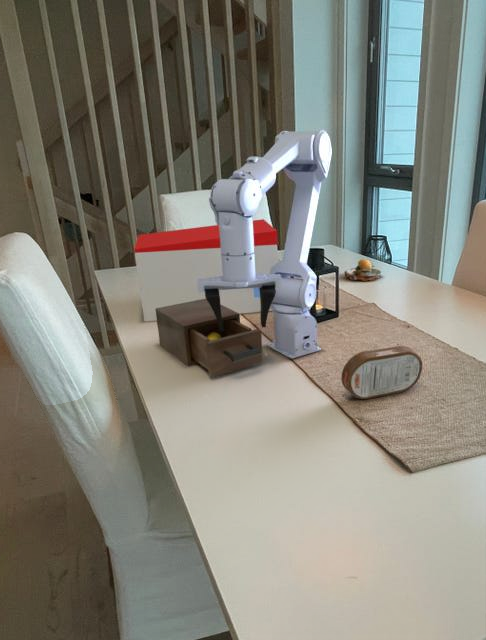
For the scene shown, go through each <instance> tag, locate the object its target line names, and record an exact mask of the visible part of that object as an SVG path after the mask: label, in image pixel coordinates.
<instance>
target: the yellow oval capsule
mask: <svg viewBox="0 0 486 640" xmlns="http://www.w3.org/2000/svg"><path fill="white" fill-rule="evenodd" d="M206 337H207V338H209V339H210V341H211V340H215V339H219V338H221V336H220V335H219V334H218V333H214V332H213V333H210V334H208V335H207V336H206Z"/></svg>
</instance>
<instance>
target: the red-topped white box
mask: <svg viewBox="0 0 486 640" xmlns="http://www.w3.org/2000/svg"><path fill="white" fill-rule="evenodd" d="M253 235H254V255H255V274H270V270H271V268H272V267H273V266H275V265H276V264H278V263H279V262H278V230H277V229H276V228H274V227H273V226H272V225H271V224H270V223H268V222H267V220H265V219H264V218H262V219H255V220H254V219H253ZM136 239H137V240H136V242H135V246H134V249H133V251H134V259H135V264H136V265H135V267H136V272H137V273H136V274H137V280H138V287H139V293H140V301H141V307H142V314H143V321H144V322H145V323H146V322H157V318H156V310H155V309H156V308H160V307H165V306H171V305H176V304H181V303H186V302H191V301H196V300H201V299H206V297H205V292H198V282H197V279H204V278H212V277H218V276H223V272H222V258H221V246H220V233H219V225H217V224H214V225H207V226H198V227H190V228H182V229H175V230H165V231H158V232H151V233H142V234H138V236H137V238H136ZM219 295H220V304H221V305H223V306H225V307H227V308H229V309H231V310H233V311H235V312H237V313H239V314H240V315H242V314H250V313H261V302H260V290H259V288H244V289H229V290H219ZM269 312H274V309H271V307H270V309H269Z"/></svg>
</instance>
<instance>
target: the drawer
mask: <svg viewBox="0 0 486 640" xmlns="http://www.w3.org/2000/svg"><path fill="white" fill-rule="evenodd" d="M222 322H223V331H220V330H219V325H218V322H216V323H212V324H207V325H203V326H199V327H194V328H190V329H188V338H189V347H190V356H191V358H192V359H194V360H195V361H197V362H198V364H200V366H202V367H204V368H205V369H206V370H208V376H209V377H211V378H213V377H217V376H220V375H225V374H227V373H231V372H234V371H237V370H240V369H244V368H247V367H251V366H254V365H258V364H261V363H263V362H264V358H263V356H264V355H263V339H262V338H263V337H262V335H263V334H262V330H261V329H259V328H255V329H252V328H251V327H250V326H247V325H245V324H243V323H242V322H240V323H239V322H238V321H236V320H234V319H229V320H225V321H222ZM213 332H214V333H218V334H219V335H220V336H221V338H219V339H215V340H211V341H210V339H209V338H207V337H206V336H207V335H208V334H210V333H213Z"/></svg>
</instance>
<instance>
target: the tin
mask: <svg viewBox="0 0 486 640" xmlns="http://www.w3.org/2000/svg"><path fill="white" fill-rule="evenodd" d="M422 371H423V360H422V358H421V357H420V355H419V354H418V353H416V351H414V350H413V348H411V347H409V346H407V345H397V346H389V347H383V348H378V349H369V350H365V351H360V352H358V353H356V354H354V355H353V356H352V357H350V358H349V359H348V360H347V361H346V363H345V364H344V366H343V368H342V372H341V377H340V379H341V384H342V386H343V388H344V389H345V390H346V391H347V392H348V393H349V394H350V395H352V396H353V397H354V398H356V399H360V400H368V399H372V398H378V397H385V396H390V395H394V394H401V393H404V392H406V391H409V390H410V389H411V388H413V387H414V386H415V385H416V384H417V383H418V381H419V380H420V378H421V375H422Z"/></svg>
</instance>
